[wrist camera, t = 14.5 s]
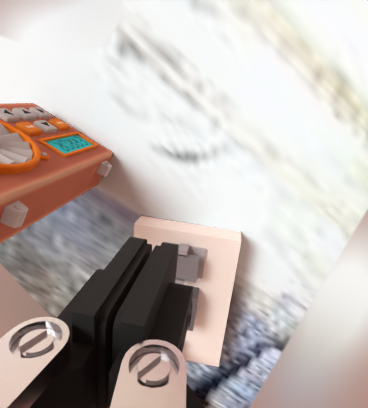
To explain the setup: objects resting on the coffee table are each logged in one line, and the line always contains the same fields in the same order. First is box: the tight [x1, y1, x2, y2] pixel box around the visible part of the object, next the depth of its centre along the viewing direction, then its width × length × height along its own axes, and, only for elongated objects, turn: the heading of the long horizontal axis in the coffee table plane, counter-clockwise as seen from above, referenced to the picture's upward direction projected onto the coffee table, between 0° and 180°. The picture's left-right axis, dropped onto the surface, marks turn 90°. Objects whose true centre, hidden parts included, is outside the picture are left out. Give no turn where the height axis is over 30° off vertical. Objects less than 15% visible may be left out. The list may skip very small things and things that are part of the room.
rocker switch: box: [176, 254, 200, 283], centre depth 38 cm, size 4×3×1 cm
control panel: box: [0, 103, 113, 243], centre depth 31 cm, size 21×7×15 cm
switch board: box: [134, 216, 241, 367], centre depth 42 cm, size 14×21×6 cm, turn 174°
